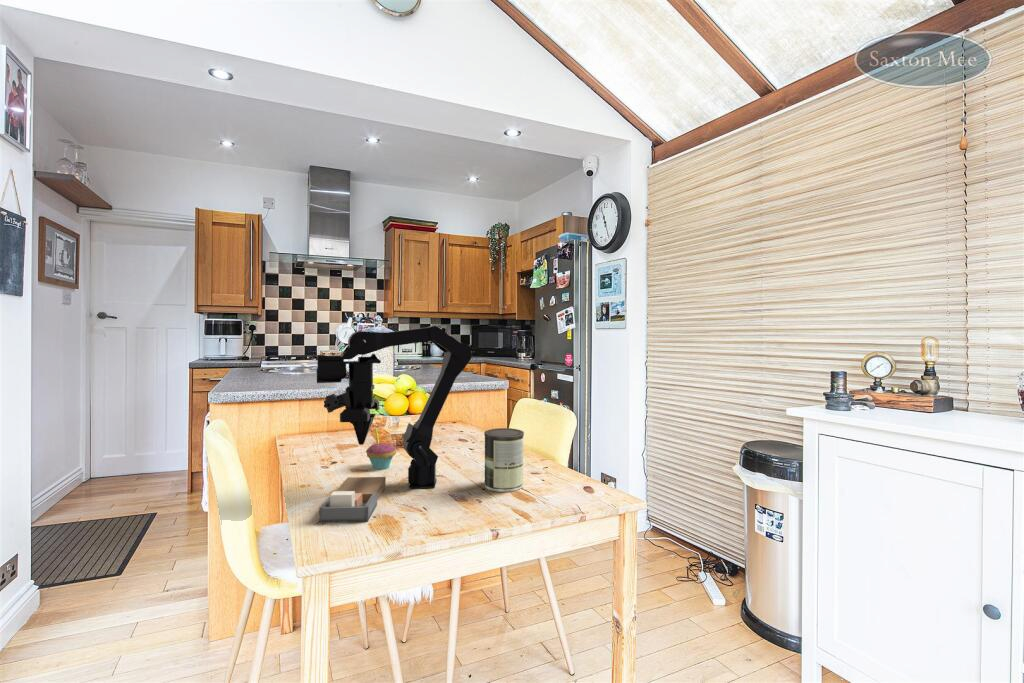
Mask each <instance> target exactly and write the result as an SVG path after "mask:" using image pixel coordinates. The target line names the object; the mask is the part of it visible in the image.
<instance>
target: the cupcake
mask: <svg viewBox="0 0 1024 683" xmlns="http://www.w3.org/2000/svg"><path fill="white" fill-rule="evenodd" d="M374 427H375V428H374V432H375V439H376V443H374V444H371V445H370V446H369V447H368V448H367V449H365V453H366V457H367V458H368V459H369V461H370V463H371V467H372V469H375V470H385V469H388V468H390V466H391V465H390V464H391V462H392V460H393V457H394V456H395V455H396V454H397V449H396V446H394V445H393V444H391V443H389V442H380V440H379V432H378V428H377V426H376V425H375V426H374Z"/></svg>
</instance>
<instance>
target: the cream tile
mask: <svg viewBox="0 0 1024 683" xmlns="http://www.w3.org/2000/svg"><path fill="white" fill-rule="evenodd" d="M329 497H330V507H352V506H355V491H337V490H333V492H331V494H330V495H329Z"/></svg>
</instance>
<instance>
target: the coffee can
mask: <svg viewBox="0 0 1024 683" xmlns="http://www.w3.org/2000/svg"><path fill="white" fill-rule="evenodd" d="M483 435H484V488H485V489H487V491H488V490H489V491H491V492H496V493H511V492H515V491H516V492H517V491H519V490H520V489H522V488H524V436H525V432H524V431H523V430H521V429H517V428H510V427H509V428H508V427H506V428H505V427H502V428H500V427H499V428H491V429H490V428H489V429H487V430H485V431H484V433H483Z"/></svg>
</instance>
